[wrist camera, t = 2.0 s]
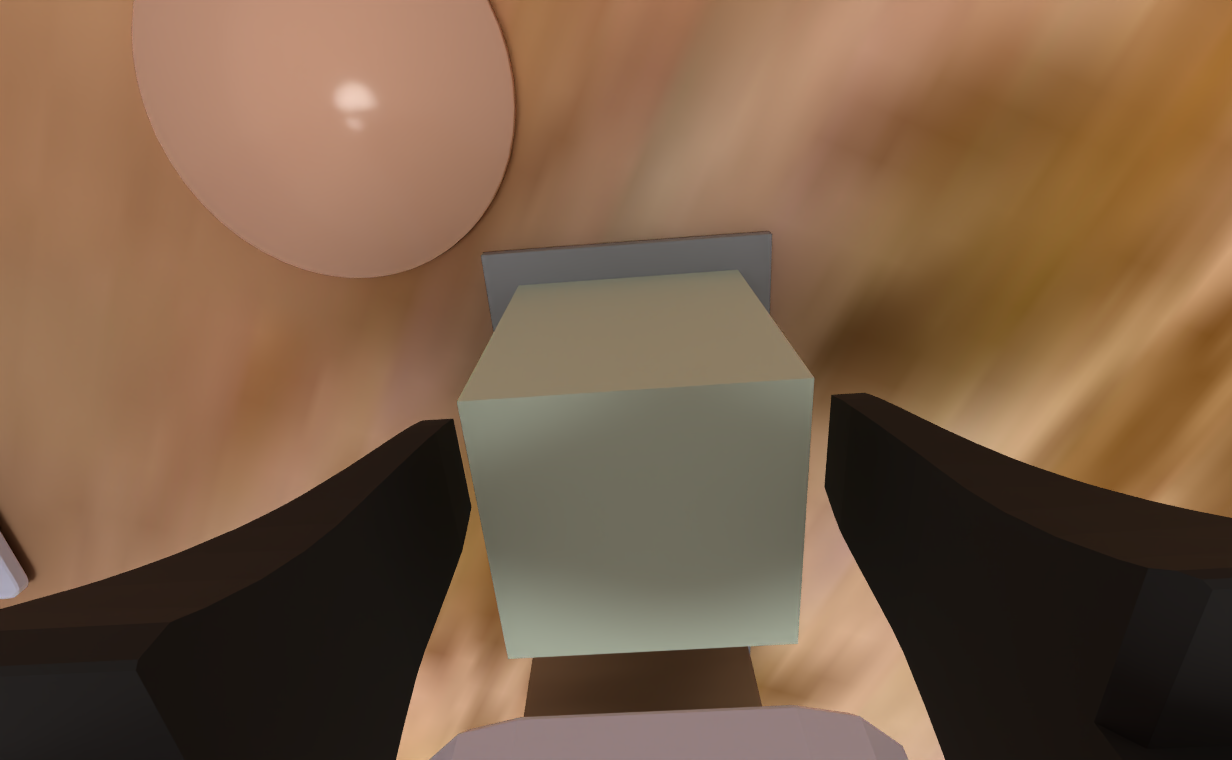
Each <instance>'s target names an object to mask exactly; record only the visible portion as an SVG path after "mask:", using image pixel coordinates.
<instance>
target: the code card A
mask: <svg viewBox="0 0 1232 760" xmlns="http://www.w3.org/2000/svg"><path fill="white" fill-rule="evenodd" d="M771 254H772V233H771V232H769V231H765V232H752V233H738V234H725V235H711V236H698V237H684V238H671V239H657V240H644V241H630V242H617V243H603V244H590V245H576V246H563V247H549V248H536V249H522V250H509V251H495V252H483V254H482V255H481V259H482V265H483V271H484V277H485V283H486V289H487V295H488V301H489V308H490V314H491V320H492V326H493V332H494V331H495V329H496V327H497V325H498V323H499V321H500V320H501V318H502V316H503V314H504V312H505V310H506V308H507V306H508V305H509V303H510V301H511V299H512V297H513V295H514V293H515V291H516V290H517V288H518V286H519V285H532V284H546V283H560V282H574V281H588V280H602V279H615V278H629V277H643V276H657V275H671V274H685V273H698V272H712V271H726V270H738V271H739V272H740V273H741V275H742V276H743V278H744V279H745V280H746V282H747V283H748V285H749V286H750V288H751V289H752V290H753V292H754V293H755V295H756V296H757V297H758V299H759V300H760V302H761V303H762V305H763V306H764V307H765V309H766V310H767V312H768V313H769V314H770V289H771Z"/></svg>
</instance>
